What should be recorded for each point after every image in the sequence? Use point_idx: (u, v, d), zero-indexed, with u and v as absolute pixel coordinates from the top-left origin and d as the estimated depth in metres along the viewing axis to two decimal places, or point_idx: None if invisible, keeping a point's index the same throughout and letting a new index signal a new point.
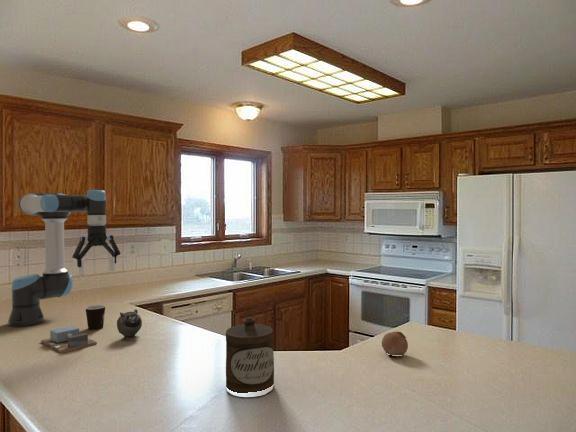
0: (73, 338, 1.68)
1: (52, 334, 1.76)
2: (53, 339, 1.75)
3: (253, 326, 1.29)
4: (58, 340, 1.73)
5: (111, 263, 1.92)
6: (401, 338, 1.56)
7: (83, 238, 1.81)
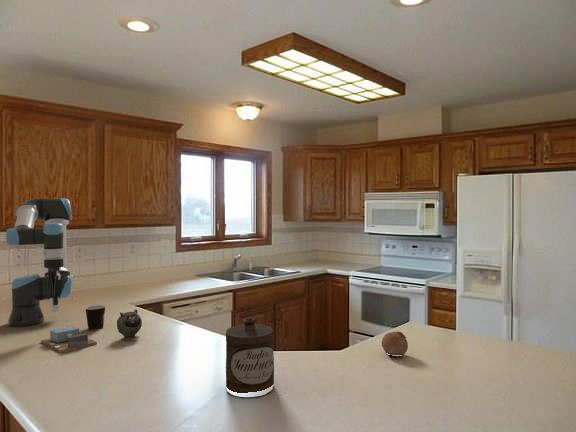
0: (73, 338, 1.68)
1: (52, 334, 1.76)
2: (53, 339, 1.75)
3: (253, 326, 1.29)
4: (58, 340, 1.73)
5: None
6: (401, 338, 1.56)
7: (45, 275, 1.88)
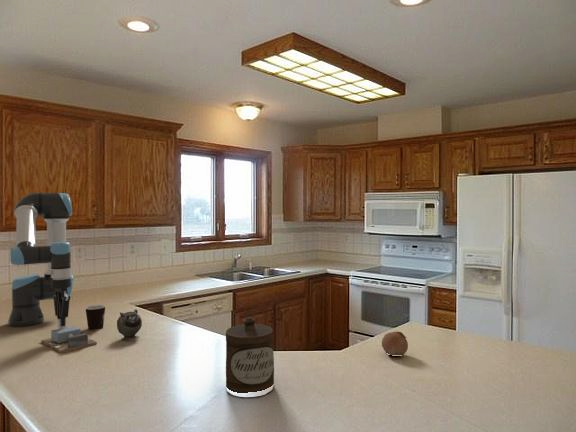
0: (73, 338, 1.68)
1: (53, 334, 1.75)
2: (54, 340, 1.75)
3: (253, 326, 1.29)
4: (59, 341, 1.73)
5: None
6: (401, 338, 1.56)
7: (53, 295, 1.83)
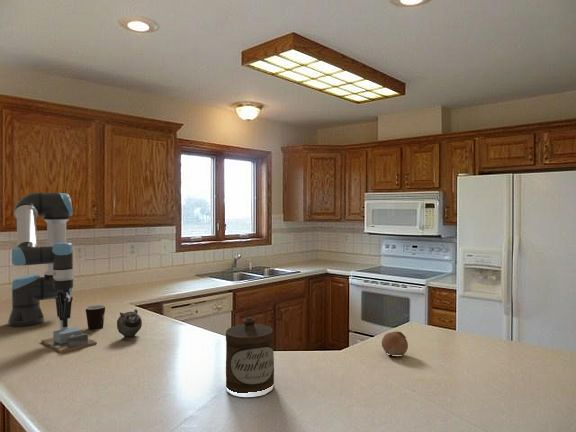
0: (73, 338, 1.68)
1: (55, 335, 1.74)
2: (56, 341, 1.73)
3: (253, 326, 1.29)
4: (61, 342, 1.71)
5: None
6: (401, 338, 1.56)
7: (55, 296, 1.82)
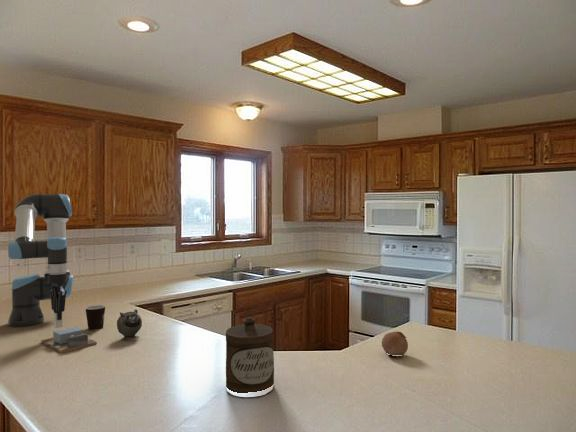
0: (73, 338, 1.68)
1: (55, 335, 1.74)
2: (56, 341, 1.73)
3: (253, 326, 1.29)
4: (61, 342, 1.71)
5: None
6: (401, 338, 1.56)
7: (49, 289, 1.86)
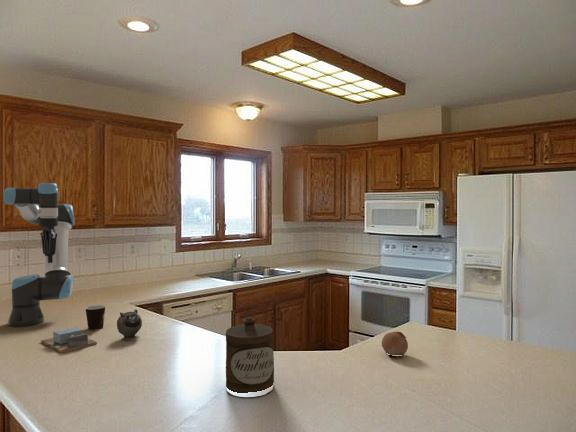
0: (73, 338, 1.68)
1: (55, 335, 1.74)
2: (56, 341, 1.73)
3: (253, 326, 1.29)
4: (61, 342, 1.71)
5: None
6: (401, 338, 1.56)
7: (40, 234, 1.92)
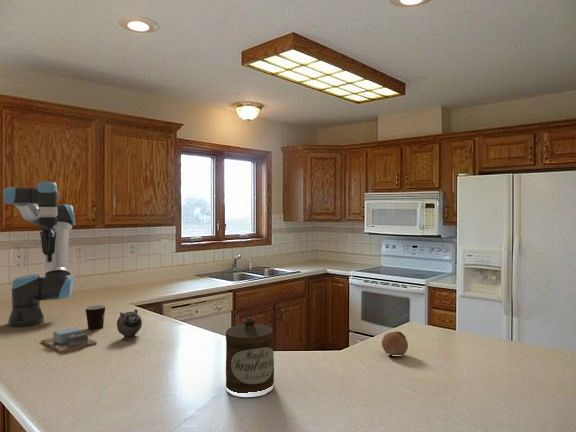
0: (73, 338, 1.68)
1: (55, 335, 1.74)
2: (56, 341, 1.73)
3: (253, 326, 1.29)
4: (61, 342, 1.71)
5: None
6: (401, 338, 1.56)
7: (40, 233, 1.92)
